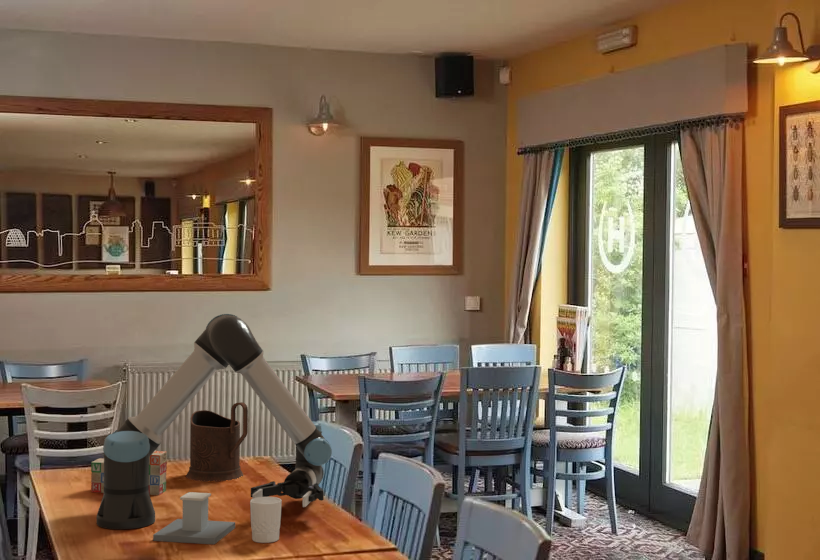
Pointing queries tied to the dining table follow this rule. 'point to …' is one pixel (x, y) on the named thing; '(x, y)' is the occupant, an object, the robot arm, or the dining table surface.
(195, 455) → the cup holder
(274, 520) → the white cup
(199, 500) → the narrow pillar
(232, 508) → the dining table surface
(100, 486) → the stack of blocks
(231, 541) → the dining table surface
